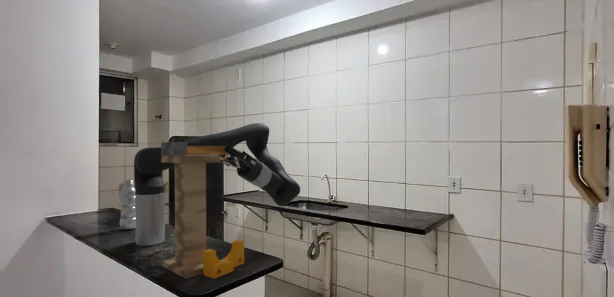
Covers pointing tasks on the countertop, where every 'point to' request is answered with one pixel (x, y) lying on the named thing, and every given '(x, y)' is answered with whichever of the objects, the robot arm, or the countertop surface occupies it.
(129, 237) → the countertop surface
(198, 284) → the countertop surface
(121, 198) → the plastic bottle
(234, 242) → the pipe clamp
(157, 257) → the countertop surface
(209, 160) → the stand
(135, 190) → the robot arm
